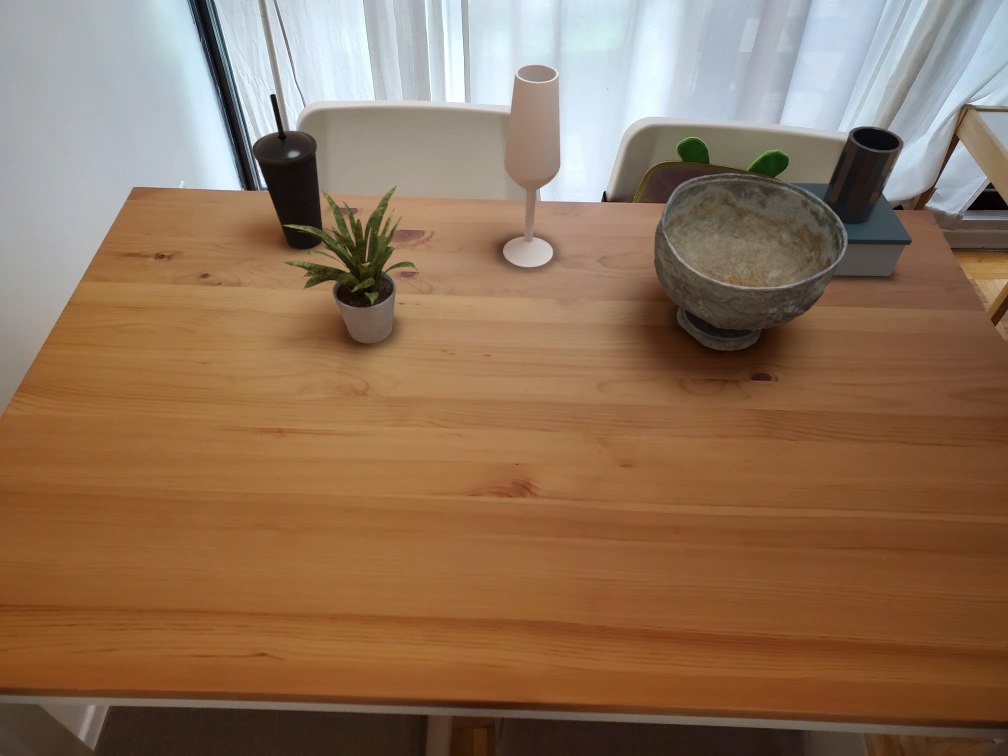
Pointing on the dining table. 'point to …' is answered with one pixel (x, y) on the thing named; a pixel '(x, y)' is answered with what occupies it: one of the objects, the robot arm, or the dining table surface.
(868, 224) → the container
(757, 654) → the dining table surface
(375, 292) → the house plant
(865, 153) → the cup
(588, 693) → the dining table surface
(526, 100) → the champagne flute
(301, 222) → the drinking cup
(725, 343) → the bowl
